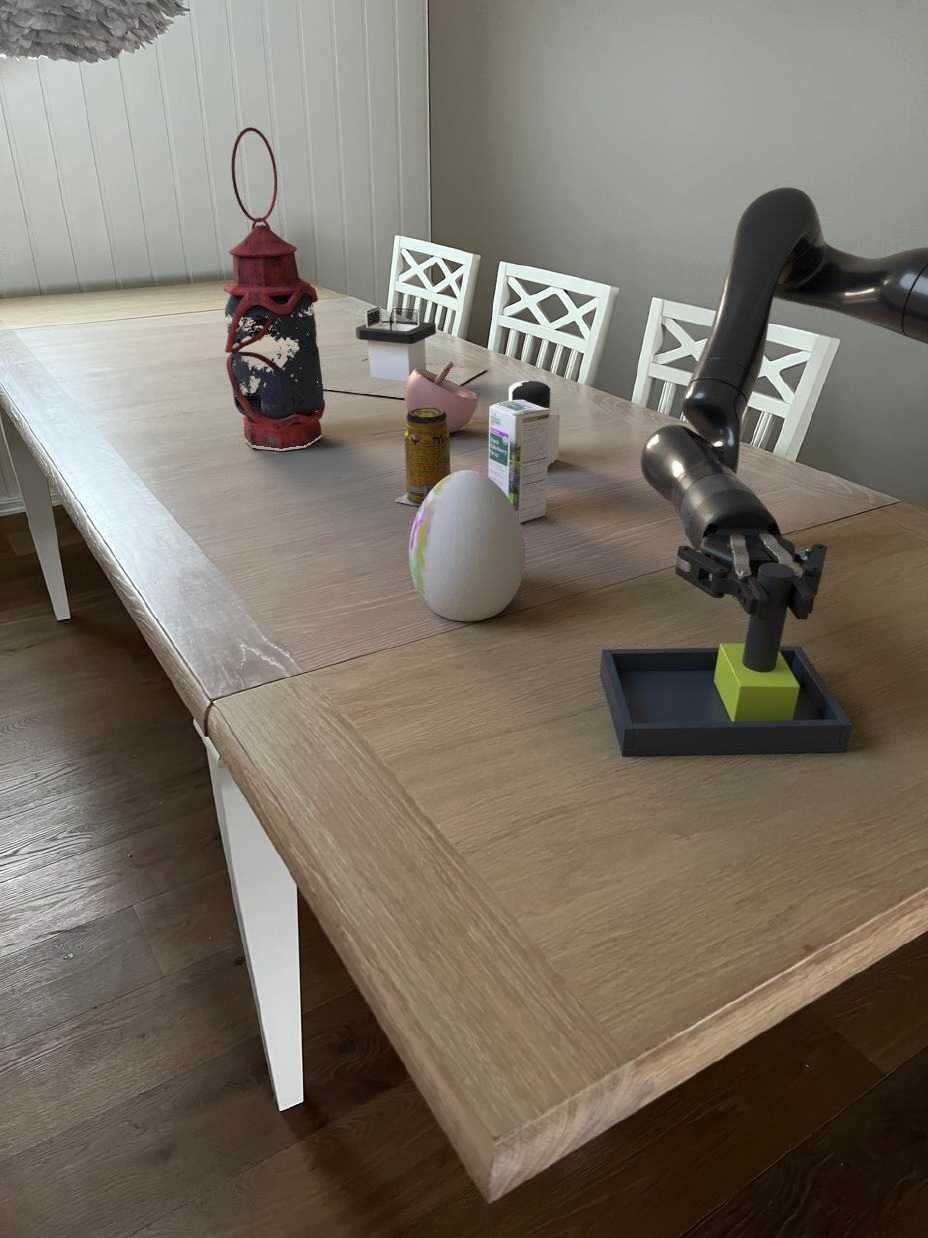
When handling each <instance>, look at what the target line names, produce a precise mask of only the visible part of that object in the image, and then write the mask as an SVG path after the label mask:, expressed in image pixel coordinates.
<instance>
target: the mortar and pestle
mask: <svg viewBox="0 0 928 1238" xmlns="http://www.w3.org/2000/svg"><path fill="white" fill-rule="evenodd" d="M444 365H445V366H444V368H443V369H442V370H441V372H440V374H439V375H436V374H433V373H431V372H429V371H427V370H424V369H420V368H417V369H414V371H413V372H412V373H411V375H410V377H409V378H408V381H407V383H406V387H405V395H404V396H405V399H404V404H405V407H406V408H405V409H406V410H407V413H408V412H409V411H411V410H413V409H417V408H425V407H428V408H429V407H430V408H438V409H441V410H443V411H445V412H446V416H447V417H446V422H447V430H448V432H449V434H450V433H453V432H457V431H458V430H460V429H462V428H463V427H464V426H466V425H467V424H468V423H469V422H470V421H471V419H472V418H473V416H474V415H475V412H476V410H477V408H478V403H479V397H478V395H477V393H476V392H474V391H471V390H470V389H467V388H465V387H463V386H462V385H461V386H459V385H457V384H455V383H453V382H451V381H449V380H446V379H445V377H446V376H447V374H448V373H449V371H450V369H451V368H452V367H453V366H454V362H452V361H448V362H446V364H444Z"/></svg>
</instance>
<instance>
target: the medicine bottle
mask: <svg viewBox="0 0 928 1238" xmlns="http://www.w3.org/2000/svg"><path fill="white" fill-rule="evenodd" d="M511 400H525V401H526V402H529V403H532V404H535V405H538V406H541V407H543V408H548V409H550V410H551V387H550V386H549V385H548V384H546V383H544V382H542V381H537V380H521V381H517V382H515V383H513V384H511V385H510V386H509V388H508V401H511ZM560 419H561V415H560V414H559V413H555V412H550V424H549V446H548V467H549V466H551V465H552V464H553V463H555V462H556V461H557V460H558V459H559V447H560V445H559V444H560ZM555 460H556V461H555ZM551 463H552V464H551ZM550 464H551V465H550Z"/></svg>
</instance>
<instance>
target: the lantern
mask: <svg viewBox="0 0 928 1238" xmlns="http://www.w3.org/2000/svg"><path fill="white" fill-rule="evenodd" d="M249 132H254V133H256V134H257V135H258V136H259V137H260V138H261V139H262V141H263V142H264V144H265V146H266V148H267V151H268V153H269V157H270V161H271V163H272V164H271V165H272V171H273V195H272V200H271V204H270V207H269V208H268V211H267V212H266V214H264V216H263V217H257V218H255V217H253V216H252V215H250V214H249V212H248V211H247V209H246V208H245V205H244V204H243V203H242V199H241V196H240V194H239V190H238V187H237V186H238V185H237V181H236V155H237V150H238V146H239V144H240V141H241V139H242V138H243V136H244V135H245V134H246V133H249ZM231 153H232V154H231V165H230V166H231V167H230V168H231V180H232V186H233V187H232V188H233V190H234V194H235V198H236V200H237V203H238V206H239V207H240V209H241V211H242V212H243V214H244V215H245V217H247V219H249V220H250V221H251V222H252V224H251V230H250V232H249V233H247V235H246V236H245V237H244V238H243V239H242V240H241V241H240V242H239V243H238V244H237V245H235V246H233V247H232V248H231V249H230V250H229V251H228V254H229V255H230V256H232V271H233V273H232V274H233V275H232V276H233V278H232V280H233V282H230V283H228V284H227V285H224V286H223V287H222V289H223V291H224V292H225V293H227V294H228V295H229V298H228V300H227V302H226V305H225V309H224V315H225V316H224V318H227V319H230V318H231V322H229V323H227V322H226V324H227V325H226V328H227V332H226V333H227V339H226V344H225V349H224V352H225V353H226V354H229V355H228V357H227V358H226V362H225V365H226V366H225V368H226V372H227V375H228V378H229V382H230V384H231V385H230V386H231V388H232V396H233V402H234V406H235V408H236V409H237V411H238V413H240V414H241V415H243V417H242V420H243V424H244V426H243V433H244V434H243V435H244V439H245V438H246V439H247V440H248V442H249V443H251V445H256V446H264V447H271V448H279V449H283V448H289V447H296V446H304V445H307V444H308V443H311V442H312V441H314V440H315V439H316V438H318V437H319V436H320V435H322V426H321V422H320V420H321V419H322V418H323V415H324V412H325V408H326V401H325V399H324V397H325V396H324V390H323V384H322V378H323V375H322V369H321V367H322V366H321V359H320V358H321V357H320V350H319V346H318V343H319V342H318V341H319V339H317V337H318V335H317V334H318V333H317V323H316V315H315V314H316V313H315V312H314V310H315V309H314V304H316V303H317V302H319V301H318V300H319V297H318V294H317V290H316V288H315V287H314V286H312V285H311V283H310V282H307V281H305V280H303V279H302V278H301V277H300V275H299V270H298V266H297V260H296V254H295V253H296V252H297V250H298V247H296V246H295V245H292V244H291V243H289V242H287V241H285V240H284V239H282V238H281V236H280V235H277V233H275V232H274V231H273V230H271V226H270V224H269V223H268V221H267V219H268V218H269V217H270V215H271V214H272V212H273V210H274V208H275V205H276V200H277V194H278V172H277V165H276V160H275V155H274V153H273V151H272V147H271V145H270V143H269V141H268V139H267V138H266V136H265V135H264V133H262V132H261V131H260V130H259V129H257V128H255V127H251V126H249V127H246V128H244V129H243V130H241V131H240V133H239V134H238V136H237V137H236V139H235V142H234V144H233V148H232V152H231ZM257 223H263V224H257ZM240 322H242V324H241V325H240ZM246 329H248V330H246ZM248 337H249V338H248ZM264 337H265V338H267V339H269V337H270V338H274V341H275V342H276V343H279V341H280V340H281V338H282V340H283V341H284V342H286V341H287V340H288V339H289V340H290V341H292V342H293V346H295V345H296V344H297V346H296V347H297V348H298V349H296V351H295V350H294V349H293V348H288V350H287V354H286V356H285V357H286V361H284V363H283V365H282V366H279V365H278V364H277V362H278V361H275V358H274V357H273V358H271V359H270V358H268V357H267V356H265V355H263V354H261V353H257V352H253V351H241V350H242V349H243V348H245V347H247V346H249V345H250V346H251V345H252V344H254V343H256V342H258V341H260V342H262V340H263V339H264ZM245 339H246V340H245ZM286 346H287V347H291V344H286ZM279 349H280V350H282V347H281V345H279ZM280 350H278V351H277V353H276V356H278V357H277V359H278V360H280V359H281V358H282V353H280ZM288 354H289V355H288ZM291 354H292V355H293V356H292V355H291ZM244 357H250V358H255V359H257V360H260V361H261V362H263V363H264V364H263V365H264V366H263V367H261V368H260V369H258V367H257V366H258V365H259V363H257V364H253V365H251V366H249V365H250V362H249V361H250V360H249V359H248V360H247V361H245V358H244ZM269 368H270V370H269ZM251 377H254V380H259V382H258V383H257V387H256V389H254V391H253V392H252V391H251V390H253V388H252V386H251V384H252V383H254V380H253V379H252V378H251ZM317 381H318V383H317ZM251 382H252V383H251ZM244 389H246V392H244Z"/></svg>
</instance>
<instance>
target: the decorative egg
mask: <svg viewBox="0 0 928 1238" xmlns="http://www.w3.org/2000/svg"><path fill="white" fill-rule="evenodd" d="M524 535H525V534H524V531H523V527H522V523H520V520H519V518H518V515H517V513H516V511H515V509H514V506H513V505H512V503H511V501H510V500H509V498H508V497H507V495H506V494H505V493H504V492H503V490H502V489H501V488H500V487H499V486H498V485H497V484H496V483H495V482H494V481H493V480H491V479H490V478H488V476H487V475H485V474H483V473H481V472H479V471H476V470H470V469H463V470H457V471H453V472H452V473H451V474H450V475H448V476H446V477H445V478H444V479H442V480H441V481H440V482H439V483H438V484H437V485H436V486H435V487H434V488H433V489H432V490H431V491H430V493H429V494H428V495H427V497H426V498H425V499H424V501H423V503H422V505H421V506H419V508H418V511H417V513H416V515H415V518H414V520H413V524H412V527H411V532H410V537H409V544H408V563H409V570H410V575H411V579H412V582H413V584H414V587H415V589H416V591H417V593H418V595H419V597H420V598H421V599H422V601H423V602H424V604H426V605H427V607H428V608H429V609H430V610H431V611H432V612H433V613H435V614H436V615H438V616H440V617H442V618H445V619H448V620H451V621H458V622H478V621H482V620H485V619H486V620H487V619H489V618H492V617H495V616H497V615H499V614H500V613H501V612H502V611H504V609H506V608H507V607H508V605H510V603H511V602H512V600H514V598H515V596H516V594H517V593H518V591H519V588H520V586H521V583H522V580H523V577H524V573H525V568H526V542H525V536H524Z"/></svg>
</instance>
